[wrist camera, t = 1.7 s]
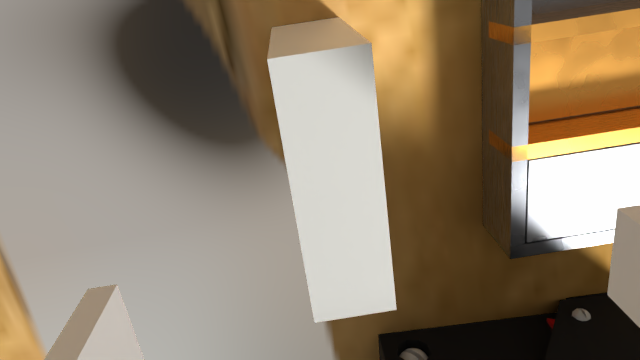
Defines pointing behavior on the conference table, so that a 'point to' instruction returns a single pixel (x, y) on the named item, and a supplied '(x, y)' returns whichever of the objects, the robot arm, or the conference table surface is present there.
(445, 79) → the conference table surface
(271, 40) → the white rectangular block
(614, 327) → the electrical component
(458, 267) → the conference table surface
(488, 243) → the conference table surface
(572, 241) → the rack
